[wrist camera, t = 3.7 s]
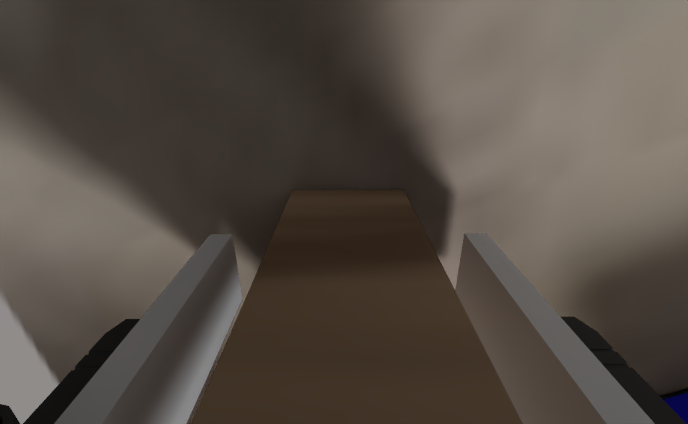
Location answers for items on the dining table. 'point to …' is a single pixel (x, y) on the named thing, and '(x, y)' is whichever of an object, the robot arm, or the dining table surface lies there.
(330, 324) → the tan block on post
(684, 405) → the puzzle cube
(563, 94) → the dining table surface
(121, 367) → the robot arm
